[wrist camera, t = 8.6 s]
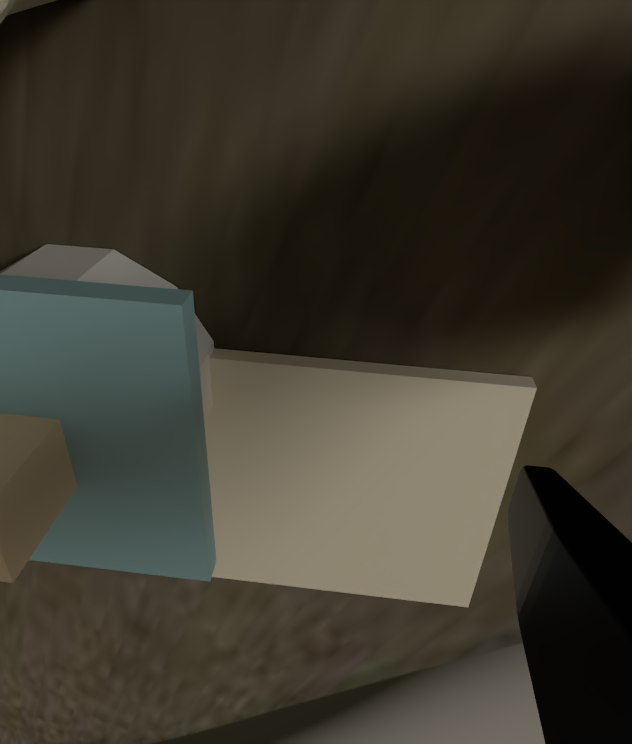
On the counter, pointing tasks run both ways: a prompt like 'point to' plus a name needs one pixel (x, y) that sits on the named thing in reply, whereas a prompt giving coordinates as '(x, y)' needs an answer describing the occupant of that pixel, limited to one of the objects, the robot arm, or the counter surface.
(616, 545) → the robot arm
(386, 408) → the mat
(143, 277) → the bowl
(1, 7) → the flower pot
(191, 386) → the lid
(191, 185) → the counter surface
